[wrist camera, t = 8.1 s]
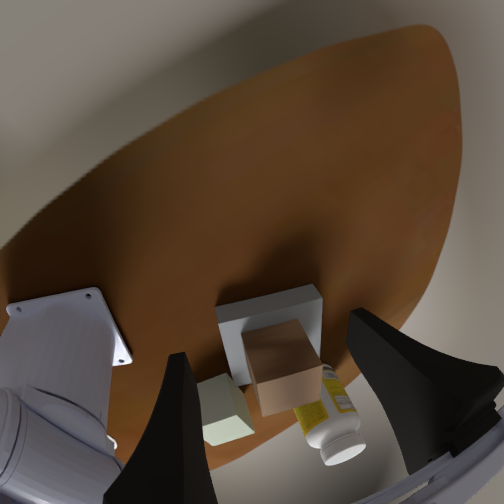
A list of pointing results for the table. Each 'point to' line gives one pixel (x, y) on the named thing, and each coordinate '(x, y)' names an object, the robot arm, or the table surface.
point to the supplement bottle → (331, 421)
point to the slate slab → (267, 322)
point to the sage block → (223, 410)
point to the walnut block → (282, 366)
